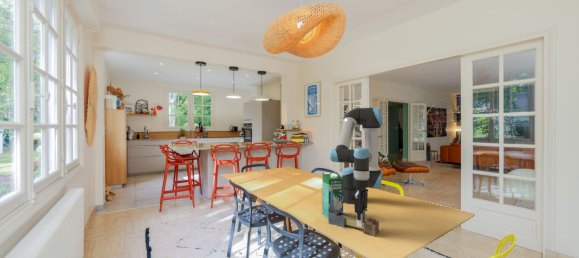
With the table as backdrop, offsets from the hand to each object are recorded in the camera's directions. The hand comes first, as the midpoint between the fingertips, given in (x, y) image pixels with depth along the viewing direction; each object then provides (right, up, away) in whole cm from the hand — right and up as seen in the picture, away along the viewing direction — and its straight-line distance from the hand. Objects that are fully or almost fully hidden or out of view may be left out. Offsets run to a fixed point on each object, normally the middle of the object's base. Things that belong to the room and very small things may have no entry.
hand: (360, 224), depth 120 cm
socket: (+5, -3, -3) cm, 6 cm away
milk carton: (-11, -2, +18) cm, 21 cm away
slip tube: (-2, -1, +2) cm, 3 cm away
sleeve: (-10, -2, +8) cm, 13 cm away
